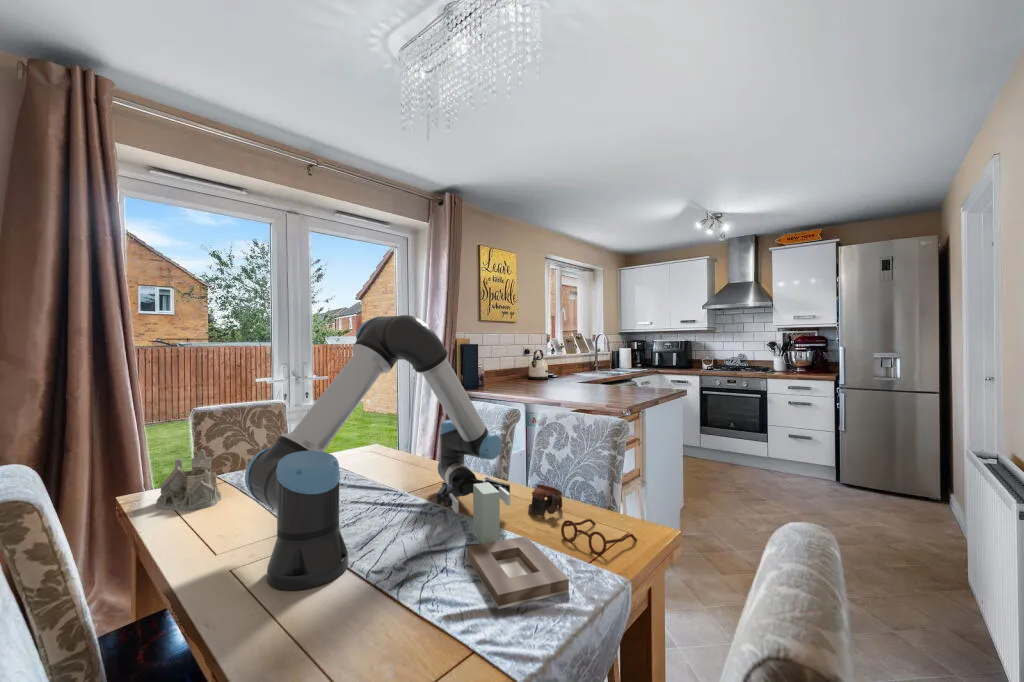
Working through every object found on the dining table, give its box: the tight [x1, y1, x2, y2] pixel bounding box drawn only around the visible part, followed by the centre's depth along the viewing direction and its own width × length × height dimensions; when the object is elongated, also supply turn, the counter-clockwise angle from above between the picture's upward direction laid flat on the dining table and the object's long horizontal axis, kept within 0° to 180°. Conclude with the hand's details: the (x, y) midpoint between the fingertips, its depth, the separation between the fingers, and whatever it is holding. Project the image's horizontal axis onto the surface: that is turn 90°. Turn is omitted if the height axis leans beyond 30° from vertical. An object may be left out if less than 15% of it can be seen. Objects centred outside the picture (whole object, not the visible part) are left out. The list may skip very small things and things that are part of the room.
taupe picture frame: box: [466, 535, 570, 610], centre depth 90 cm, size 14×20×2 cm
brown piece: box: [528, 484, 563, 518], centre depth 123 cm, size 12×10×8 cm
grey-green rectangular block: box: [472, 482, 501, 544], centre depth 106 cm, size 4×8×12 cm, turn 22°
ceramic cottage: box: [155, 449, 222, 512], centre depth 131 cm, size 16×16×15 cm
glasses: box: [560, 518, 638, 556], centre depth 106 cm, size 13×13×5 cm
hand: (483, 503), depth 110 cm, fingers open, 13 cm apart
